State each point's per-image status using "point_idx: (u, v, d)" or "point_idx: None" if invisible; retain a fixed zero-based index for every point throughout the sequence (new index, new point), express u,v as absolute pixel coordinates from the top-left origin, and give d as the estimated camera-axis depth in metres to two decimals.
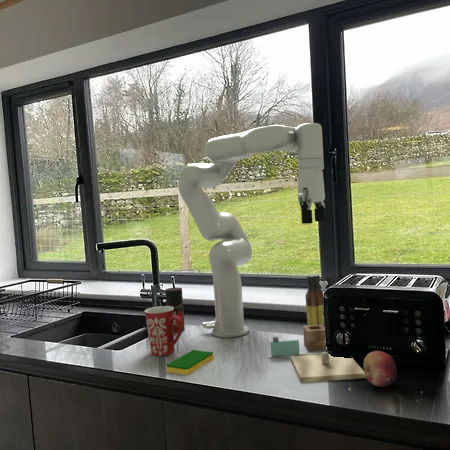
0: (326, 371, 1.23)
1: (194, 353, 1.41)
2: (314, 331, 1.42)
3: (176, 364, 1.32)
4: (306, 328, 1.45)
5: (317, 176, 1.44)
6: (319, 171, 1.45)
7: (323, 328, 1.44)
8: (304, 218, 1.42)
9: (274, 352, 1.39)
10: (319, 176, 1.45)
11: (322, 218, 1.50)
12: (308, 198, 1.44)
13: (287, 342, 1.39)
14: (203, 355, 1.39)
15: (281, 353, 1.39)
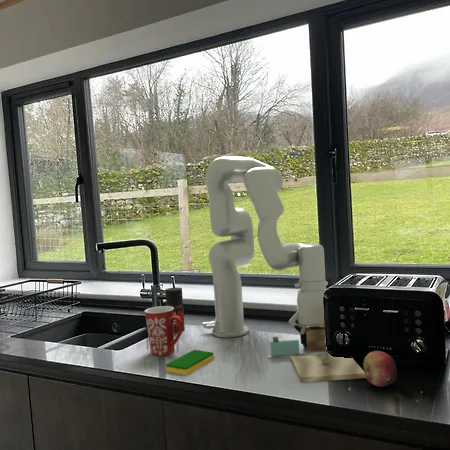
0: (326, 371, 1.23)
1: (195, 353, 1.41)
2: (314, 331, 1.42)
3: (175, 364, 1.33)
4: (306, 328, 1.45)
5: None
6: None
7: (323, 328, 1.44)
8: None
9: (274, 352, 1.39)
10: None
11: None
12: None
13: (287, 342, 1.39)
14: (203, 355, 1.38)
15: (281, 353, 1.39)
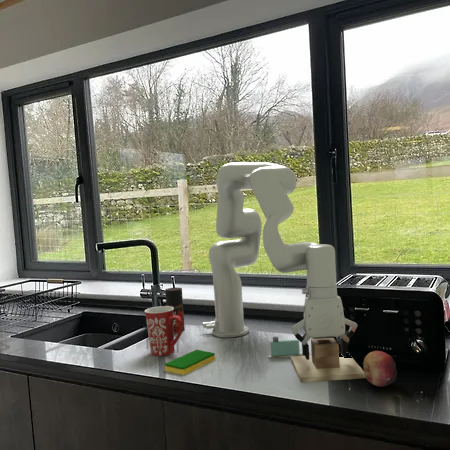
0: (326, 371, 1.23)
1: (196, 353, 1.41)
2: (324, 346, 1.24)
3: (174, 364, 1.33)
4: (314, 342, 1.27)
5: None
6: None
7: (334, 342, 1.26)
8: None
9: (274, 352, 1.39)
10: None
11: None
12: None
13: (287, 342, 1.39)
14: (204, 356, 1.38)
15: (281, 353, 1.39)
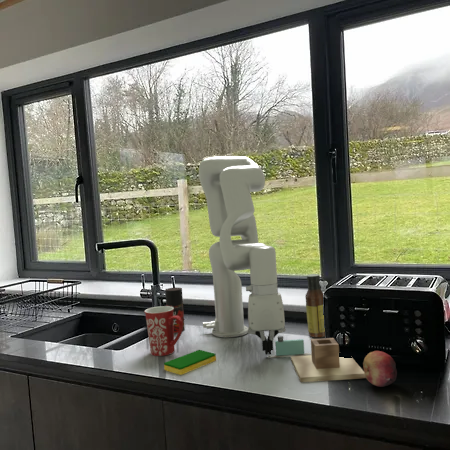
0: (326, 371, 1.23)
1: (197, 353, 1.41)
2: (324, 346, 1.24)
3: (173, 363, 1.33)
4: (314, 342, 1.27)
5: None
6: None
7: (334, 342, 1.26)
8: None
9: (279, 352, 1.39)
10: None
11: None
12: None
13: (292, 342, 1.39)
14: (204, 356, 1.38)
15: (286, 353, 1.39)
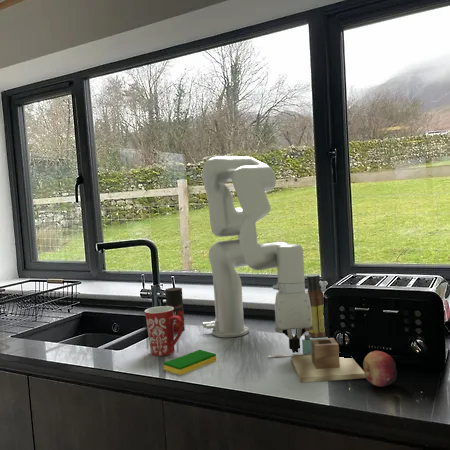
0: (326, 371, 1.23)
1: (197, 353, 1.41)
2: (324, 346, 1.24)
3: (172, 363, 1.33)
4: (314, 342, 1.27)
5: None
6: None
7: (334, 342, 1.26)
8: None
9: (306, 350, 1.39)
10: None
11: None
12: None
13: None
14: (204, 356, 1.38)
15: None
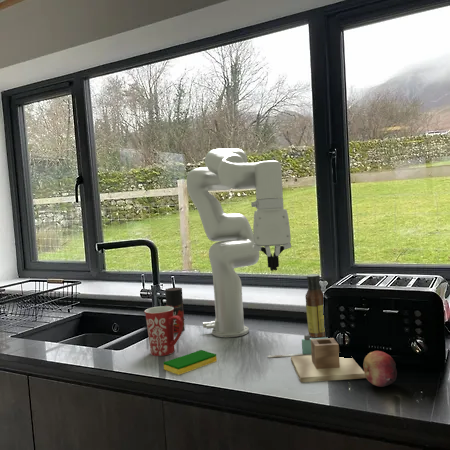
0: (326, 371, 1.23)
1: (198, 353, 1.40)
2: (324, 346, 1.24)
3: (172, 363, 1.34)
4: (314, 342, 1.27)
5: None
6: None
7: (334, 342, 1.26)
8: None
9: (306, 350, 1.39)
10: None
11: None
12: None
13: None
14: (204, 356, 1.37)
15: None
